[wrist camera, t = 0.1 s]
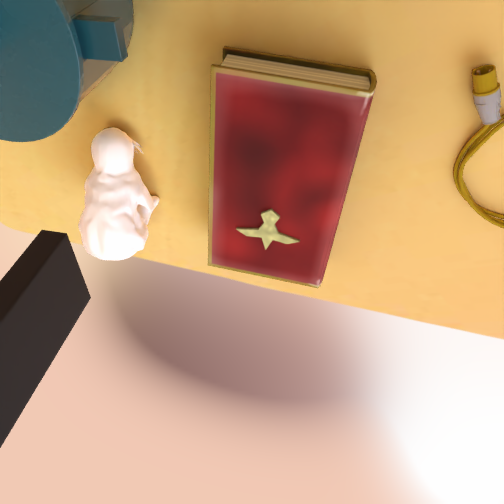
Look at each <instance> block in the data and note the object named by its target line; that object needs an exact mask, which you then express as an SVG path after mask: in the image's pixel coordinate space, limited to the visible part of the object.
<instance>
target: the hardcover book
mask: <svg viewBox="0 0 504 504" xmlns="http://www.w3.org/2000/svg"><path fill="white" fill-rule="evenodd" d="M376 83H377V80H376V75H375V73H374V72H373V71H372V70H367V69H361V68H355V67H349V66H343V65H336V64H330V63H324V62H318V61H312V60H305V59H299V58H293V57H287V56H281V55H275V54H268V53H262V52H256V51H250V50H244V49H237V48H231V47H225V46H224V48H223V62H222V64H221V65H215V64H212V65H211V96H210V162H209V228H208V265H209V266H214V267H218V268H223V269H228V270H233V271H238V272H243V273H247V274H252V275H257V276H262V277H267V278H271V279H276V280H281V281H286V282H291V283H296V284H300V285H305V286H310V287H315V288H318V287H320V286H321V283H322V281H323V277H324V273H325V270H326V266H327V262H328V259H329V255H330V252H331V248H332V244H333V241H334V237H335V233H336V230H337V226H338V222H339V219H340V215H341V212H342V208H343V204H344V201H345V197H346V193H347V190H348V186H349V182H350V179H351V175H352V171H353V168H354V164H355V161H356V157H357V153H358V150H359V146H360V142H361V139H362V135H363V131H364V128H365V124H366V121H367V117H368V113H369V110H370V106H371V102H372V99H373V95H374V91H375V88H376Z"/></svg>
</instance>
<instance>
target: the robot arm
mask: <svg viewBox="0 0 504 504" xmlns="http://www.w3.org/2000/svg"><path fill="white" fill-rule="evenodd" d="M90 298H91V297H90V294H89V292H88V289H87V286H86V284H85V281H84V278H83V276H82V273H81V270H80V268H79V265H78V262H77V260H76V257H75V254H74V252H73V249H72V246H71V244H70V241H69V238H68V236H67V233H60V232H53V231H46V230H41V232H40V233H39V234H38V235H37V237H36V238H35V239H34V240H33V241H32V243H31V244H30V245H29V247H28V248H27V249H26V250H25V251H24V253H23V254H22V255H21V256H20V257H19V259H18V260H17V261H16V262H15V264H14V265H13V266H12V267H11V269H10V270H9V271H8V272H7V273H6V275H5V276H4V277H3V278H2V280H1V281H0V448H1V446H2V444H3V443H4V441H5V439H6V437H7V436H8V434H9V433H10V431H11V429H12V428H13V426H14V424H15V423H16V421H17V419H18V418H19V416H20V414H21V413H22V411H23V409H24V408H25V406H26V404H27V403H28V401H29V399H30V398H31V396H32V394H33V393H34V391H35V389H36V388H37V386H38V384H39V383H40V381H41V380H42V378H43V376H44V375H45V372H46V371H47V369H48V368H49V366H50V365H51V363H52V361H53V360H54V358H55V356H56V355H57V353H58V351H59V350H60V348H61V346H62V345H63V343H64V341H65V340H66V338H67V336H68V335H69V333H70V331H71V330H72V328H73V326H74V325H75V323H76V321H77V320H78V318H79V316H80V315H81V313H82V311H83V310H84V308H85V306H86V305H87V303H88V301H89V300H90Z"/></svg>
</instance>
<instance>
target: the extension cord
mask: <svg viewBox="0 0 504 504" xmlns="http://www.w3.org/2000/svg"><path fill="white" fill-rule="evenodd" d="M472 79H473V85H474V87H473V88H474V89H473V98H474V103H475V105H476V108H477V110H478V113H479V115H480V118H481V120H482V123H483V124H485V125H484V126H483V127H482V128H481V129H480V130H479V131H478V132H477V133H476V134H475V135H474V136H473V137H472V138H471V139H470V140H469V141H468V142H467V143H466V145H465V146H464V147H463V149H462V150H461V152H460V154H459V156H458V158H457V160H456V163H455V166H454V170H453V175H454V181H455V184H456V187H457V189H458V191H459V193H460V194H461V196H462V197H463V198H464V199H465V200H466V201H467V202H468V203H469V205H470V206H471V207H472V208H473V209H474V210H475V211H476V212H477V213H478V214H479V215H480V216H482V217H483V218H484V219H486V220H487V221H489V222H491V223H492V224H494V225H497V226H499V227H501V228H504V220H500V219H497V218H494V217H498V218H501V219H504V215H502V214H498V213H494V212H491V211H489V210H486V209H484V208H482V207H480V206H479V205H477V204H476V203H474V201H473V199H472V197H471V196H470V194H469V192H468V189H467V187H466V185H465V183H464V181H463V177H462V176H463V169H464V166H465V164H466V162H467V161H468V160H469V158H470V157H471V156H472V155H473V154H474V153H475V152H476V151H477V150H478V149H479V148H480V147H481V146H482V145H483V144H484V143H485V142H486V141H487V140H488V139H489V138H490V137H491V136H492V135H493V134H494V133H495V132H497V131H498V130H499V129H500V128H501V127H503V126H504V115H502V116H500V107H501V105H500V102H501V91H500V84H499V83H498V82H497V76H496V68H495V66H494V65H484V66H480V67H478V68H476V69H473V70H472ZM502 120H503V121H502ZM501 121H502V122H501ZM500 122H501V123H500ZM499 123H500V124H499ZM497 124H498V125H497ZM496 125H497V126H496ZM495 126H496V127H495ZM494 127H495V128H494ZM492 128H493V129H492ZM491 129H492V130H491ZM490 130H491V131H490ZM489 131H490V132H489ZM488 132H489V133H488ZM487 133H488V134H487ZM486 134H487V135H486ZM485 135H486V136H485ZM484 136H485V137H484ZM483 137H484V138H483ZM482 138H483V139H482ZM481 139H482V140H481ZM480 140H481V141H480ZM473 142H474V143H473ZM472 143H473V144H472ZM471 144H472V145H471ZM470 145H471V147H470ZM469 147H470V148H469ZM468 148H469V149H468ZM467 149H468V151H467V153H466V154H465V156H464V158H463V160H462V162H461V164H460V161H461V159H462V157H463V155H464V153H465V152H466V150H467ZM459 164H460V167H459ZM458 167H459V171H458ZM458 180H459V181H458ZM489 215H491V216H489ZM492 216H494V217H492Z"/></svg>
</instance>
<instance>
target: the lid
mask: <svg viewBox="0 0 504 504" xmlns="http://www.w3.org/2000/svg"><path fill="white" fill-rule="evenodd" d="M83 82H84V68H83V58H82V53H81V47H80V43H79V40H78V37H77V34H76V30H75V27H74V25H73V23H72V20H71V18H70V16H69V13H68V11H67V9H66V7H65V5H64V4H63V2H62V0H0V140H6V141H12V142H29V141H36V140H40V139H44V138H46V137H48V136H51V135H53V134H54V133H56V132H57V131H59V130H60V129H61V128H62V127H63V126H64V125H65V124H66V123H67V122H68V121H69V120H70V119H71V118H72V116H73V115H74V113H75V111H76V110H77V107H78V105H79V102H80V100H81V96H82V91H83Z"/></svg>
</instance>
